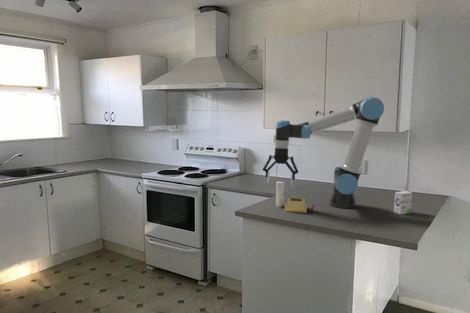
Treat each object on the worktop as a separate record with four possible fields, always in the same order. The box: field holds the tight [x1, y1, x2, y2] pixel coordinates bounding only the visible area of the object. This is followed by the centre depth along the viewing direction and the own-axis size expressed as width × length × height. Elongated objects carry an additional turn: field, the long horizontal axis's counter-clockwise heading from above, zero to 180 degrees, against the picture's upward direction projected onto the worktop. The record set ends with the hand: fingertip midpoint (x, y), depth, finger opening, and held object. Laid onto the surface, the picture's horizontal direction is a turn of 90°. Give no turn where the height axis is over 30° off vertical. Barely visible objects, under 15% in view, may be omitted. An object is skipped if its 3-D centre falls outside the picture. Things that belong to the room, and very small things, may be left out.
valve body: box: [284, 196, 315, 214], centre depth 208 cm, size 16×9×6 cm, turn 76°
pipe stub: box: [275, 181, 285, 208], centre depth 216 cm, size 4×4×14 cm
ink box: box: [393, 190, 413, 215], centre depth 208 cm, size 9×5×12 cm, turn 116°
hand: (279, 184), depth 215 cm, fingers open, 13 cm apart
